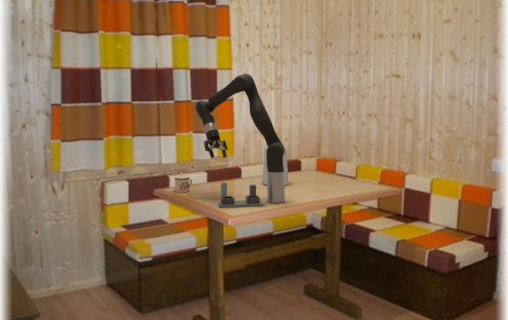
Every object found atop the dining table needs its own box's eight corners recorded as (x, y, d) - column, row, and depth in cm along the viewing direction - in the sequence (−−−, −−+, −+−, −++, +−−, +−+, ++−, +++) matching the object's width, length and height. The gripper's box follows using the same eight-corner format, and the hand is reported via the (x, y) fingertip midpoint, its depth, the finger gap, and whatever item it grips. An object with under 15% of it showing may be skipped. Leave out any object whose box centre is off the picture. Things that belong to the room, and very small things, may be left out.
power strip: (260, 202, 303) (260, 183, 301) (263, 206, 293) (263, 186, 291) (217, 203, 299) (217, 184, 297) (219, 208, 289) (219, 187, 288)
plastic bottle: (290, 185, 351) (290, 143, 347) (269, 187, 346) (269, 144, 342) (280, 181, 365) (281, 140, 361) (260, 183, 360) (260, 141, 356)
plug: (226, 197, 315) (226, 181, 313) (227, 199, 311) (226, 183, 310) (220, 198, 314) (220, 182, 313) (221, 199, 311) (221, 183, 309)
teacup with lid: (180, 193, 327) (180, 174, 325) (171, 191, 334) (171, 172, 332) (196, 190, 335) (196, 172, 334) (187, 188, 342) (187, 170, 340)
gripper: (204, 128, 305) (212, 154, 300) (225, 129, 314) (232, 154, 309) (198, 134, 311) (205, 160, 305) (218, 135, 320) (225, 159, 314)
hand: (219, 157), depth 307 cm, fingers open, 8 cm apart
